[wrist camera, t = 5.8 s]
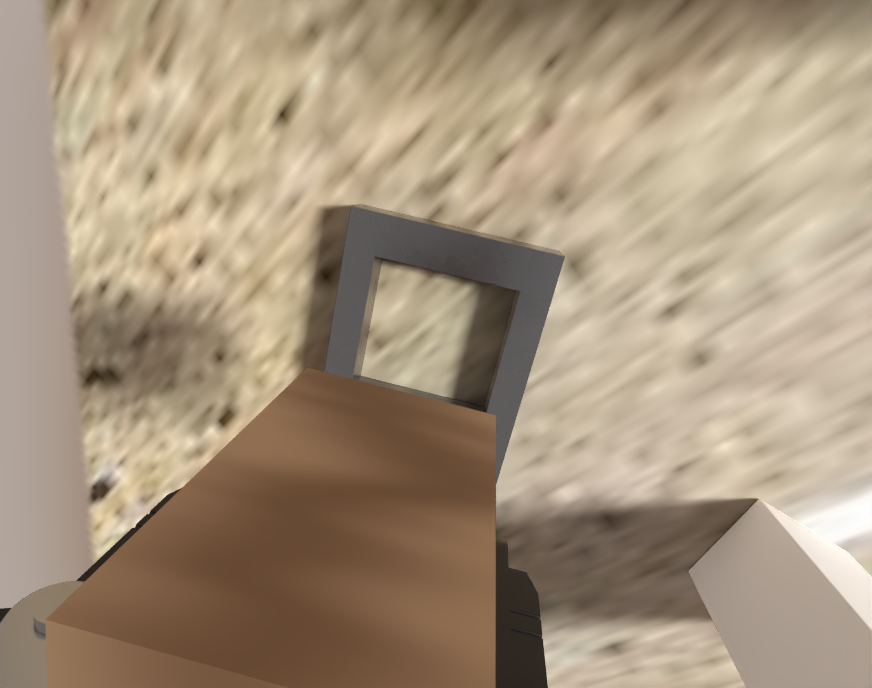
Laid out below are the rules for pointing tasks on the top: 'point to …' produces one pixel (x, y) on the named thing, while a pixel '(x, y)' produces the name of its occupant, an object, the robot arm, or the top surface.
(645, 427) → the top surface
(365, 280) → the gray slotted board
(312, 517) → the block
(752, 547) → the milk
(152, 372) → the top surface
